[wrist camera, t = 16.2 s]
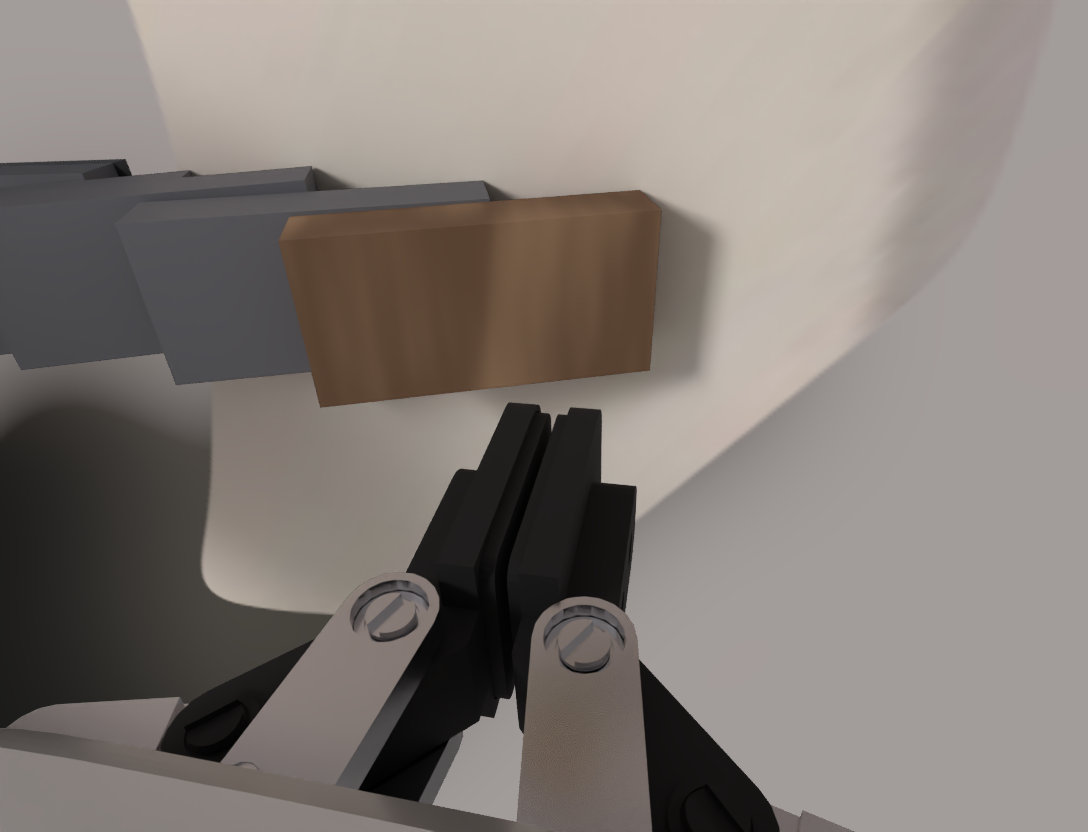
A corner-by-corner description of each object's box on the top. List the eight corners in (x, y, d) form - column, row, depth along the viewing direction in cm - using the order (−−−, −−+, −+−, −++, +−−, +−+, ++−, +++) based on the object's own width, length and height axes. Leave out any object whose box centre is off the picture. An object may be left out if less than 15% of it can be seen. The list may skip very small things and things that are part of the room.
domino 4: (631, 341, 23) (326, 373, 21) (639, 190, 20) (289, 216, 18) (650, 370, 21) (320, 407, 20) (661, 209, 18) (278, 241, 17)
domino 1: (177, 289, 27) (-17, 285, 29) (125, 159, 24) (-85, 165, 26) (142, 310, 25) (-60, 304, 27) (81, 173, 22) (-138, 179, 25)
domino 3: (492, 326, 24) (192, 354, 22) (483, 180, 21) (139, 202, 19) (499, 353, 22) (175, 384, 21) (489, 198, 19) (115, 223, 18)
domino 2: (343, 309, 24) (48, 343, 23) (311, 166, 22) (-25, 195, 20) (339, 332, 23) (21, 369, 21) (304, 179, 20) (-62, 213, 19)
